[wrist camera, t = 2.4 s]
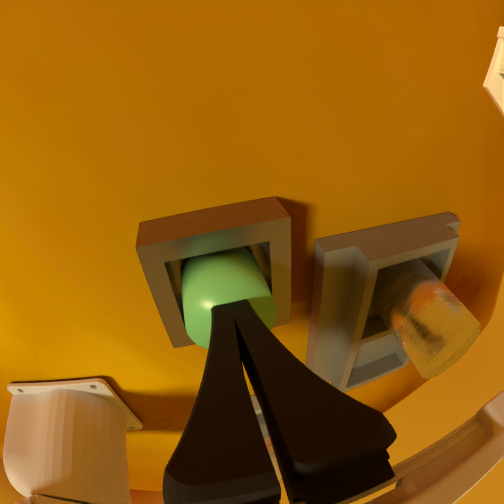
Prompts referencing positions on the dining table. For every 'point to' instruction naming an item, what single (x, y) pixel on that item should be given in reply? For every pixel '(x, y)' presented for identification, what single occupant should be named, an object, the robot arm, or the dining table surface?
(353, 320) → the grey pocketed tray
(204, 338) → the button
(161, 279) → the button housing
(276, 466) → the cylinder
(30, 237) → the dining table surface
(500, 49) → the cigarette display
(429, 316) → the seated billet
